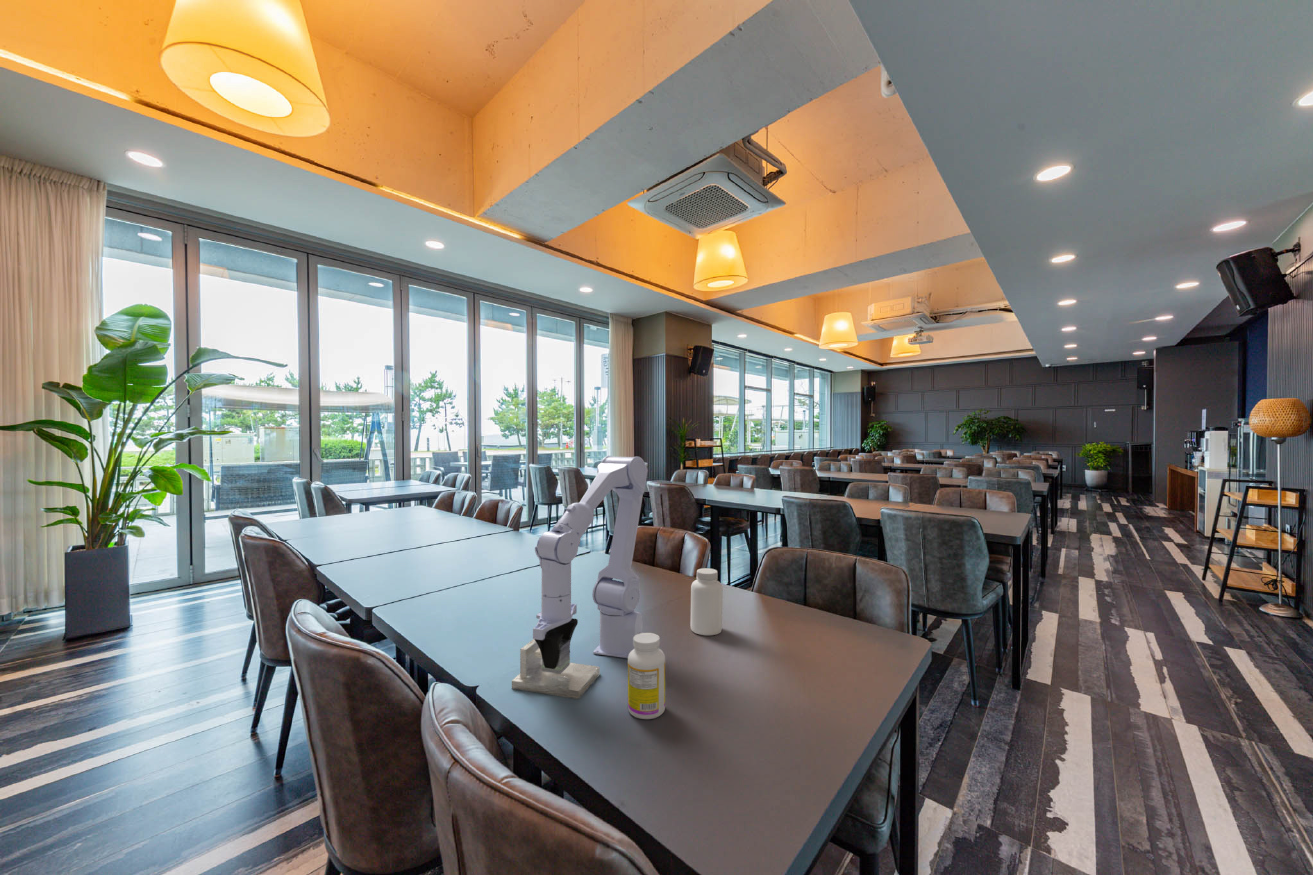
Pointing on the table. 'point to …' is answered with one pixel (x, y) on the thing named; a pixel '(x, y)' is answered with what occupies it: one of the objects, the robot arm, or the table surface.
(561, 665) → the grey stacked block
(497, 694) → the table surface
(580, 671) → the stand frame
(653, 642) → the supplement bottle
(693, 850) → the table surface
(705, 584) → the pill bottle
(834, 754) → the table surface
